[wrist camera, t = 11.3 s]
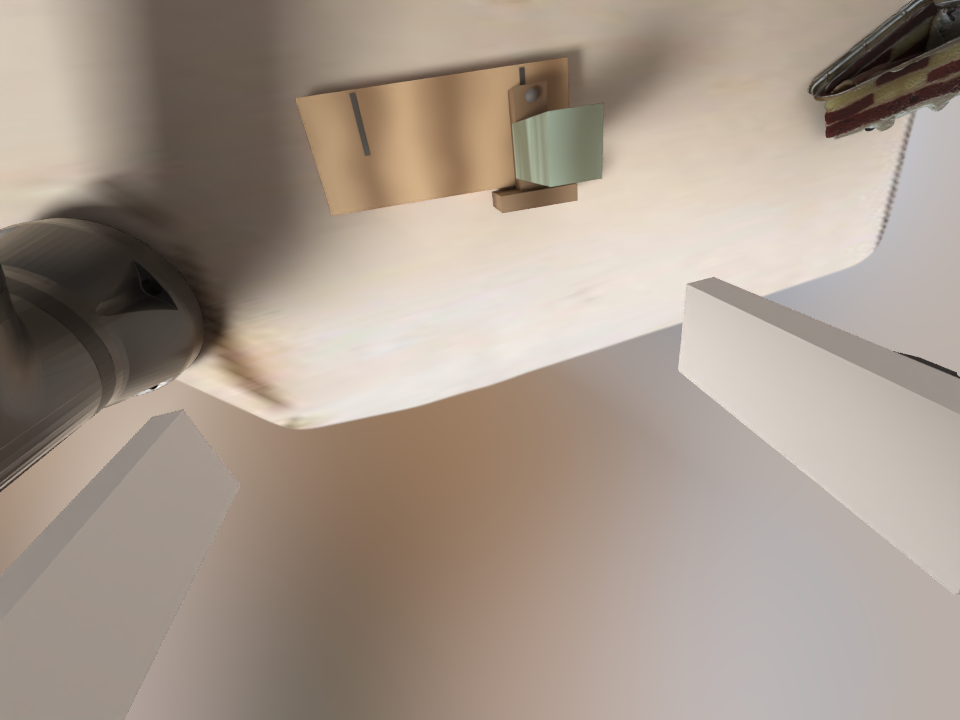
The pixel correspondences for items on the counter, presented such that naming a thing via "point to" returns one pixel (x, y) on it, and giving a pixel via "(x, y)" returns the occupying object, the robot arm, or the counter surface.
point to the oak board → (421, 135)
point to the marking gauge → (550, 149)
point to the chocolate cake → (894, 70)
